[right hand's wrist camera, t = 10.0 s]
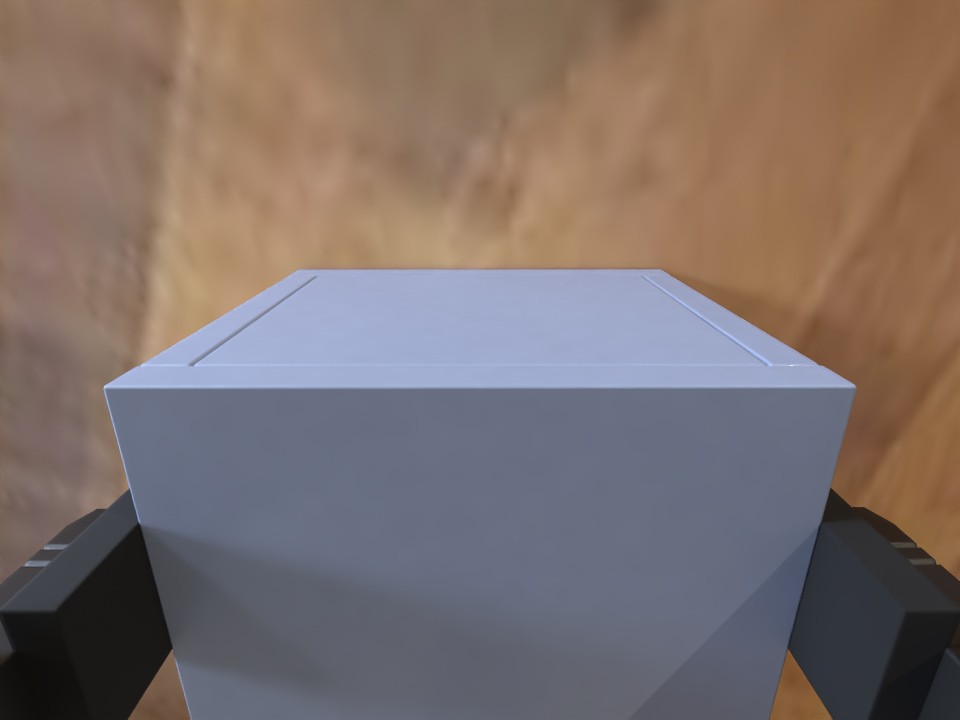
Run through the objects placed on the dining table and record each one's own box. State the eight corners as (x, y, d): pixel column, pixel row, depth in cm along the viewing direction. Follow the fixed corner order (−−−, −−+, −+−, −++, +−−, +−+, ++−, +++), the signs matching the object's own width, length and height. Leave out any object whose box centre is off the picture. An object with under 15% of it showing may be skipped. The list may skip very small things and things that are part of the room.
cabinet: (609, 716, 23) (685, 1041, 14) (350, 716, 23) (275, 1042, 14) (661, 268, 16) (858, 385, 8) (297, 269, 16) (101, 386, 8)
